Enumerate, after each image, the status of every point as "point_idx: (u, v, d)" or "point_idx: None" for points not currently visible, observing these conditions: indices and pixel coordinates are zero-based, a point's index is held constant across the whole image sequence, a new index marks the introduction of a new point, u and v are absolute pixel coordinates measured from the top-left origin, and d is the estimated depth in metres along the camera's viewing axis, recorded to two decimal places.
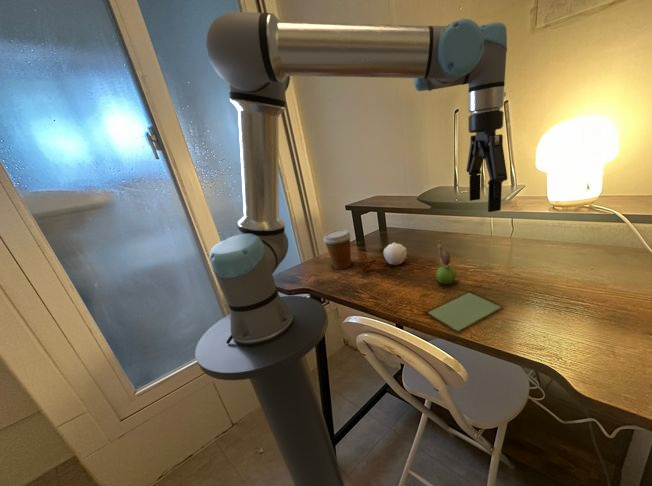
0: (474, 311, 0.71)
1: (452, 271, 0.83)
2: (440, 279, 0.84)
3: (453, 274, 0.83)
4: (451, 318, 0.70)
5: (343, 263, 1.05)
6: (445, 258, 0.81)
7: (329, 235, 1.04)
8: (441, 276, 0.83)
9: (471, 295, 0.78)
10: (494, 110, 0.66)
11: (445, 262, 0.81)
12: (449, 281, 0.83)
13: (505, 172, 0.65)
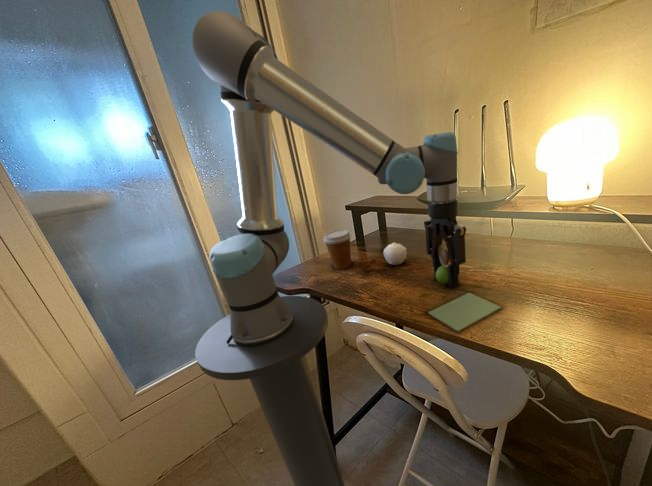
0: (474, 311, 0.71)
1: None
2: (440, 279, 0.84)
3: None
4: (451, 318, 0.70)
5: (343, 263, 1.05)
6: (444, 258, 0.81)
7: (329, 235, 1.04)
8: (440, 276, 0.83)
9: (471, 295, 0.78)
10: (453, 200, 0.74)
11: (444, 262, 0.82)
12: None
13: (464, 258, 0.78)
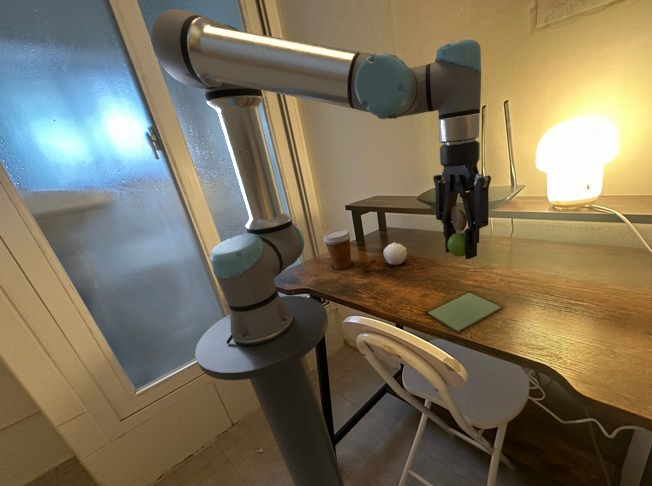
0: (474, 311, 0.71)
1: None
2: (453, 249, 0.66)
3: None
4: (451, 318, 0.70)
5: (343, 263, 1.05)
6: (460, 221, 0.63)
7: (329, 235, 1.04)
8: (455, 245, 0.65)
9: (471, 295, 0.78)
10: (474, 141, 0.56)
11: (460, 226, 0.64)
12: None
13: (487, 219, 0.60)
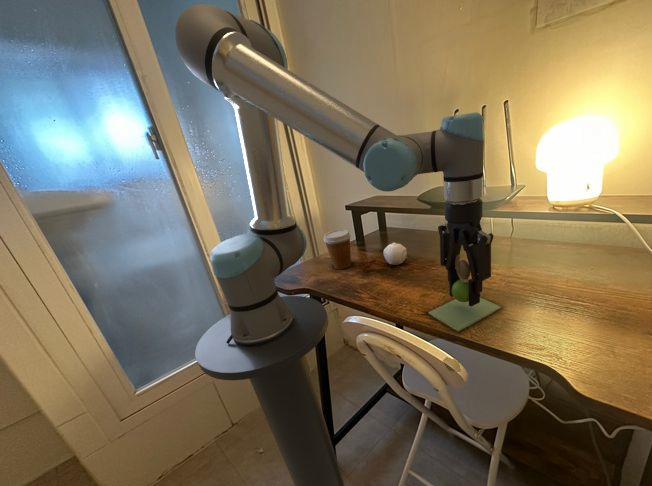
0: (474, 311, 0.71)
1: None
2: (457, 296, 0.69)
3: None
4: (451, 318, 0.70)
5: (343, 263, 1.05)
6: (464, 271, 0.66)
7: (329, 235, 1.04)
8: (458, 293, 0.68)
9: None
10: (477, 200, 0.59)
11: (464, 276, 0.66)
12: (468, 299, 0.68)
13: (490, 272, 0.63)
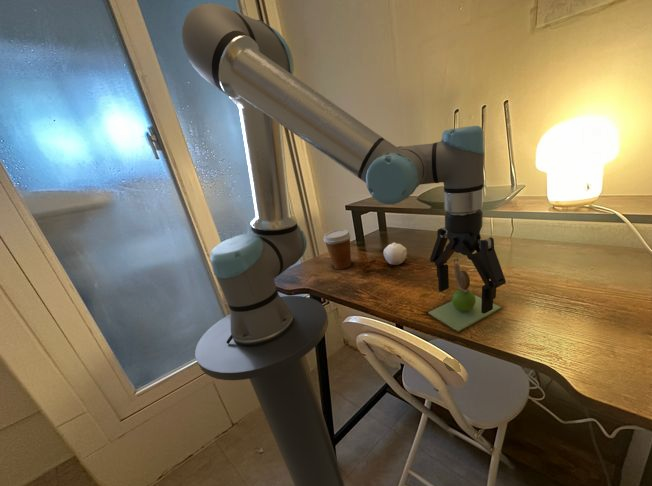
0: (474, 311, 0.71)
1: (472, 296, 0.69)
2: (457, 306, 0.70)
3: (473, 300, 0.69)
4: (451, 318, 0.70)
5: (343, 263, 1.05)
6: (464, 281, 0.67)
7: (329, 235, 1.04)
8: (458, 303, 0.69)
9: None
10: (477, 211, 0.60)
11: (464, 286, 0.68)
12: (468, 308, 0.69)
13: (503, 276, 0.60)
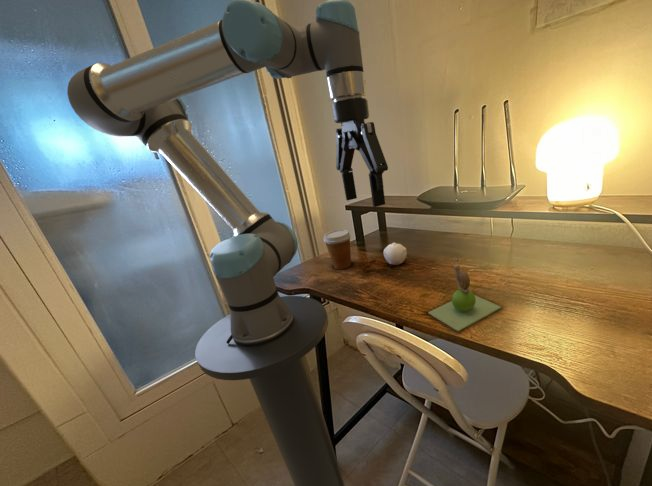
0: (474, 311, 0.71)
1: (472, 296, 0.69)
2: (457, 306, 0.70)
3: (473, 300, 0.69)
4: (451, 318, 0.70)
5: (343, 263, 1.05)
6: (464, 281, 0.67)
7: (329, 235, 1.04)
8: (458, 303, 0.69)
9: None
10: (359, 97, 0.61)
11: (464, 286, 0.68)
12: (468, 308, 0.69)
13: (385, 161, 0.61)
